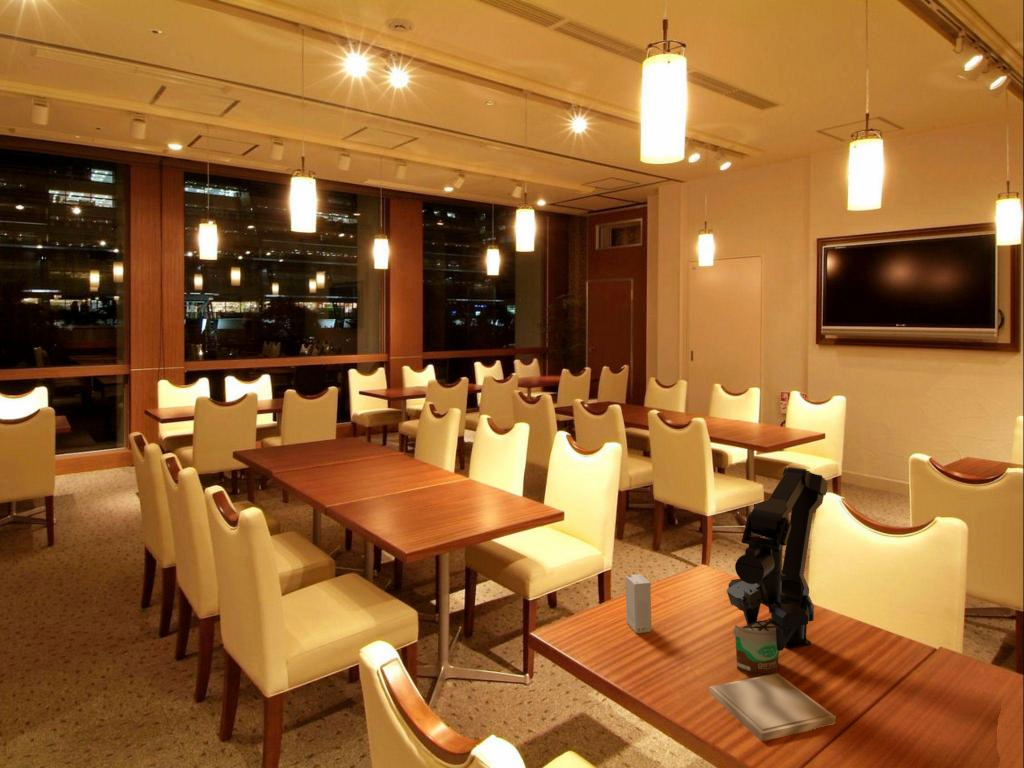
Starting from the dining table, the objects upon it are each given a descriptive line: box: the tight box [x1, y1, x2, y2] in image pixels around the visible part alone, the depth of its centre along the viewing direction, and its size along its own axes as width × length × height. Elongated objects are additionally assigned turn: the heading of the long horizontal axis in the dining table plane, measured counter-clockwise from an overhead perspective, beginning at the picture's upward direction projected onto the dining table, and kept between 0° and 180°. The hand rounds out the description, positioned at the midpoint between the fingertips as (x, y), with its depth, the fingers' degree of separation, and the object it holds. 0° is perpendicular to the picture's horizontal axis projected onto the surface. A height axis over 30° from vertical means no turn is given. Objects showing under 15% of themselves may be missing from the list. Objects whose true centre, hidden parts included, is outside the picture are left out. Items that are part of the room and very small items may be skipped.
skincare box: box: [625, 573, 652, 634], centre depth 161 cm, size 6×4×12 cm
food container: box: [732, 617, 780, 676], centre depth 141 cm, size 12×6×10 cm, turn 118°
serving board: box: [709, 672, 837, 742], centre depth 128 cm, size 16×16×2 cm
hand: (765, 640), depth 141 cm, fingers open, 9 cm apart
